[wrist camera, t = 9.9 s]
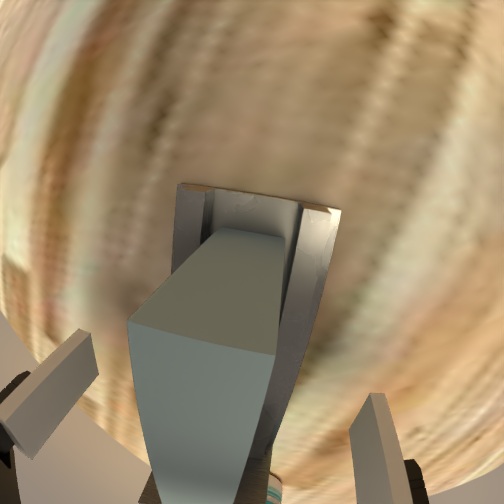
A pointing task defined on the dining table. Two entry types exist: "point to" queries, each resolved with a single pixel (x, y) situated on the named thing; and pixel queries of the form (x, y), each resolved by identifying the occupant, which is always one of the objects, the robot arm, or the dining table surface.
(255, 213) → the floor track
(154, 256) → the dining table surface
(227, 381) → the gray rectangular block
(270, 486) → the pill bottle
